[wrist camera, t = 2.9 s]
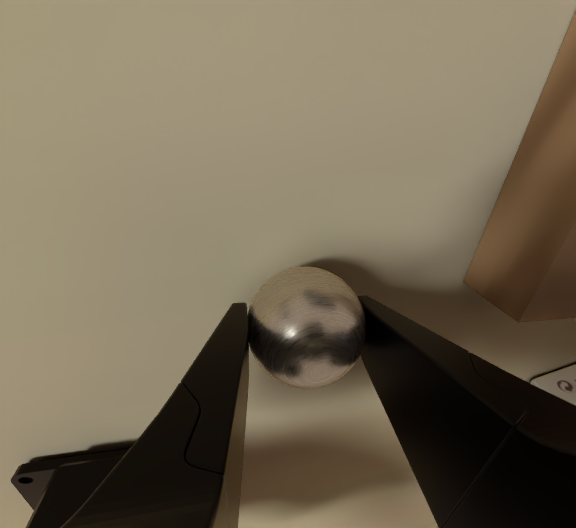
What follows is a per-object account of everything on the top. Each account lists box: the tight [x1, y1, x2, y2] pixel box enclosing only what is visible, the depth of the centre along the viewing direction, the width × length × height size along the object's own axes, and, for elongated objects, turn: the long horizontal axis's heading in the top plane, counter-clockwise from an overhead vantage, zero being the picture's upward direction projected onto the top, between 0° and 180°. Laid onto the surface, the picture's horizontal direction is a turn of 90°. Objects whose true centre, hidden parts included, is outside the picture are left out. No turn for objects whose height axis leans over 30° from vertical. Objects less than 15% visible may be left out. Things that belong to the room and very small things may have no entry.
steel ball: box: [248, 267, 366, 389], centre depth 8 cm, size 4×4×4 cm
